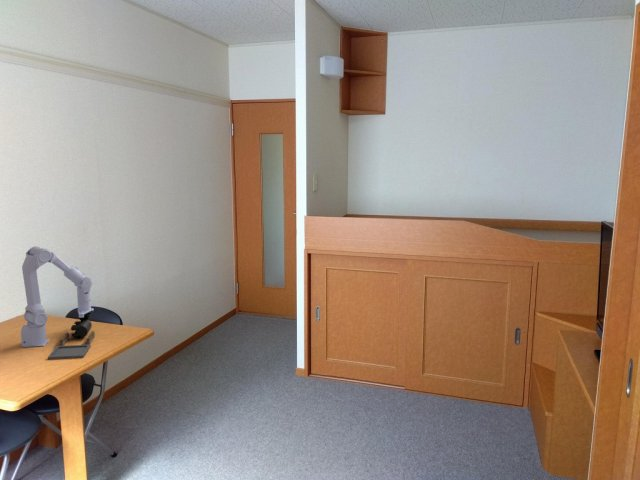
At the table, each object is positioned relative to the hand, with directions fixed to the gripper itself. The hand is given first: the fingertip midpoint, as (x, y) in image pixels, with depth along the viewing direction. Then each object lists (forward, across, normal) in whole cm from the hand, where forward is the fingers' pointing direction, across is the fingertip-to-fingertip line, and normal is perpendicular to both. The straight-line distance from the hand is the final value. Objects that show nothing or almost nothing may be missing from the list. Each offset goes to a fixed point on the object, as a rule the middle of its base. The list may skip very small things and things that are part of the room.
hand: (85, 327), depth 244 cm
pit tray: (+2, -28, 0) cm, 28 cm away
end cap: (+2, -7, 0) cm, 7 cm away
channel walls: (+2, -15, 0) cm, 15 cm away
